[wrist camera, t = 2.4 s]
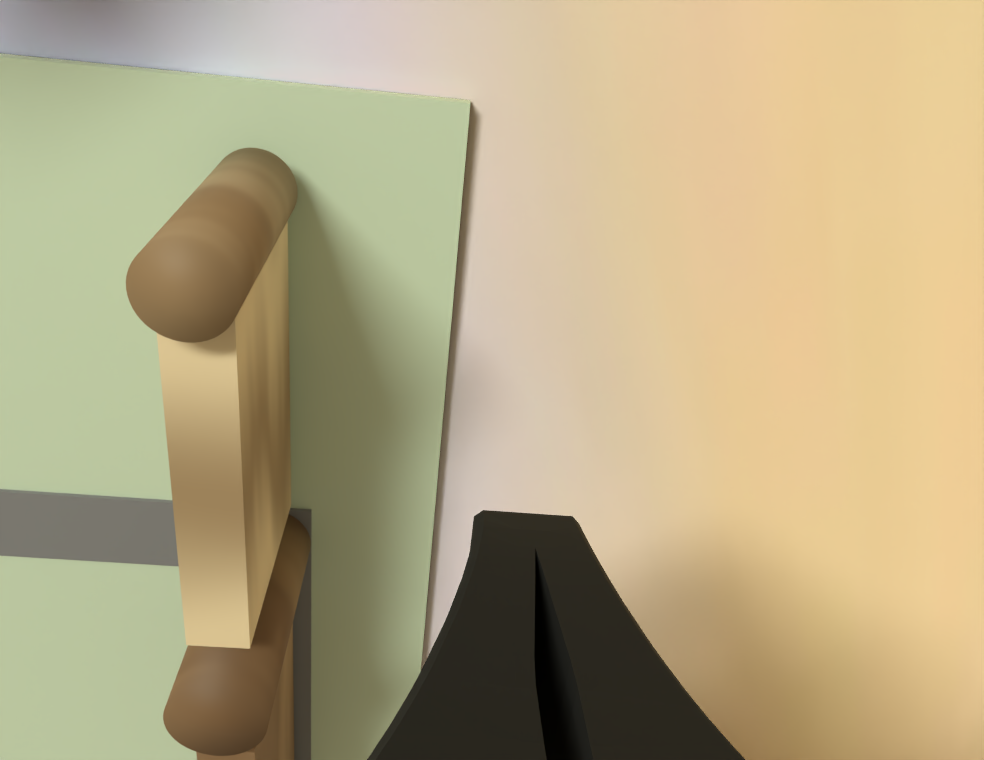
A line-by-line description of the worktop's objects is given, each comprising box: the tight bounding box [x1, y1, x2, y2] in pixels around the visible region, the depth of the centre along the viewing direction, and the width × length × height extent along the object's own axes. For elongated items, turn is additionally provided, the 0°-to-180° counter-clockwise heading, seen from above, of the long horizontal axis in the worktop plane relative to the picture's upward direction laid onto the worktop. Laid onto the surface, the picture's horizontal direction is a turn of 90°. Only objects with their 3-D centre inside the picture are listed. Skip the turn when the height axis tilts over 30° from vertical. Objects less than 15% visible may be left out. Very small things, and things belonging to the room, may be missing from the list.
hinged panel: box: [126, 148, 298, 649], centre depth 16 cm, size 8×2×5 cm, turn 174°
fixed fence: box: [163, 514, 311, 760], centre depth 22 cm, size 2×11×6 cm, turn 174°
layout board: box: [0, 53, 470, 760], centre depth 22 cm, size 13×22×1 cm, turn 174°
